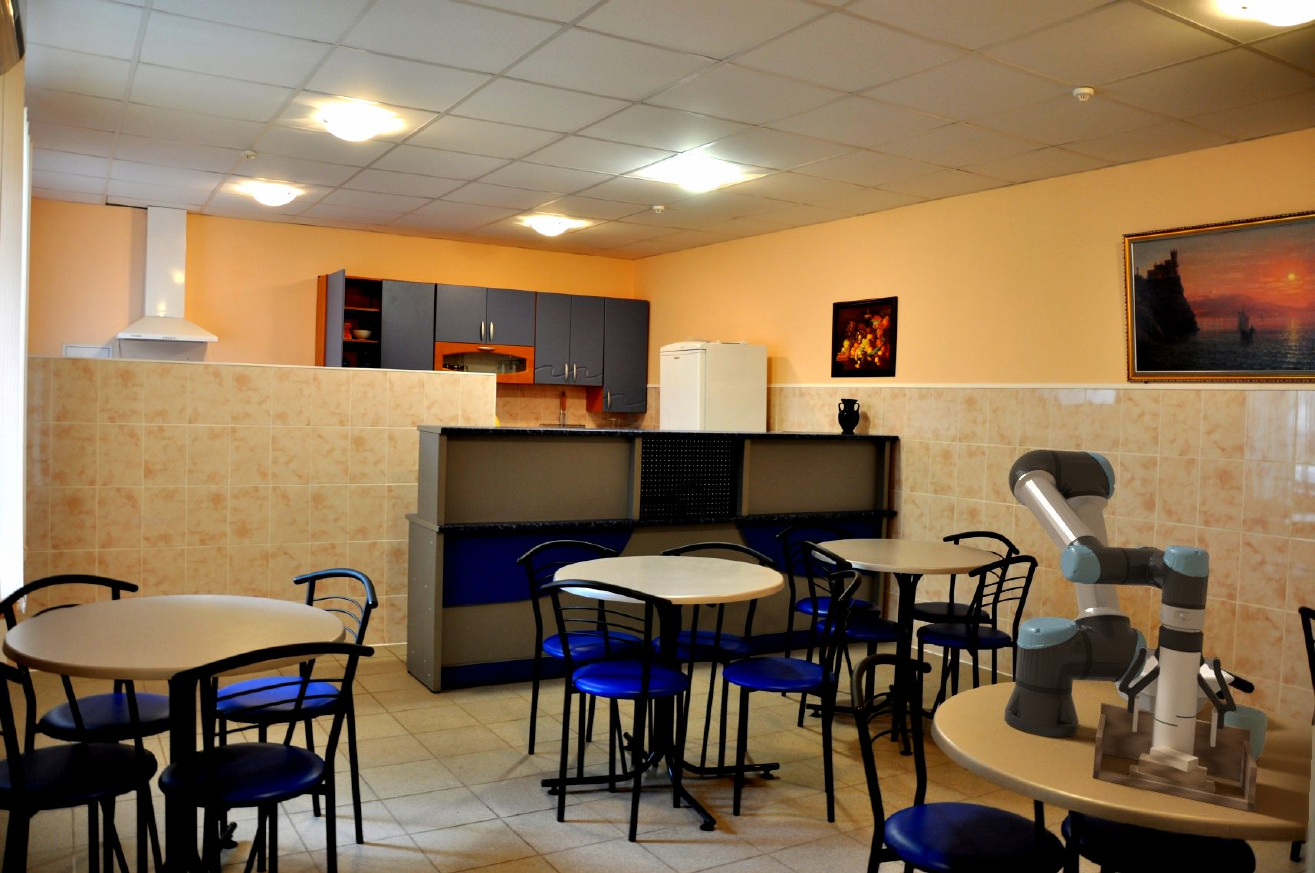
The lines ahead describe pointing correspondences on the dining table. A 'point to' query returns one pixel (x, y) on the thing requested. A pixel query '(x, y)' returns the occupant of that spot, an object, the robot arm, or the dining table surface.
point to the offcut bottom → (1208, 786)
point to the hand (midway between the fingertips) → (1172, 737)
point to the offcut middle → (1172, 771)
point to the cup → (1250, 725)
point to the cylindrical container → (1176, 700)
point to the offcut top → (1174, 758)
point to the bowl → (1149, 691)
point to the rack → (1222, 760)
